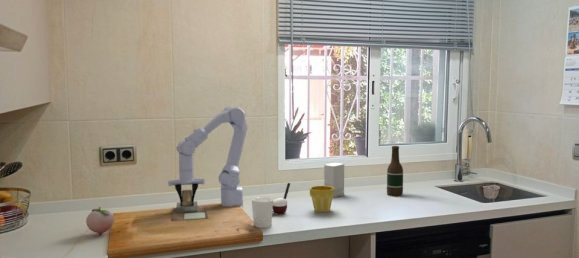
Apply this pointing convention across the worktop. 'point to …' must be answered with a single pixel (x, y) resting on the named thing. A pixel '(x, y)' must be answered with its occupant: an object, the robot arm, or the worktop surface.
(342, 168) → the skincare box
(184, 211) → the grey square frame
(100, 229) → the decorative fruit
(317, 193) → the plant pot
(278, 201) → the cocoa
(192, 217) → the pad
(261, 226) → the white cup
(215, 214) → the worktop surface
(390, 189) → the beer bottle
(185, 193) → the maple peg
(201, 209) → the walnut board
